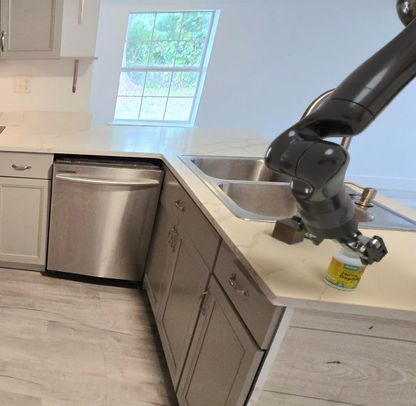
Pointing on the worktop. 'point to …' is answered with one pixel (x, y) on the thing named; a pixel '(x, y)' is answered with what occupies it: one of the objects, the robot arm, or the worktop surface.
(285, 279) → the worktop surface
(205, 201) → the worktop surface
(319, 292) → the worktop surface
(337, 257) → the supplement bottle
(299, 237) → the walnut block
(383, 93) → the robot arm
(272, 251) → the worktop surface
